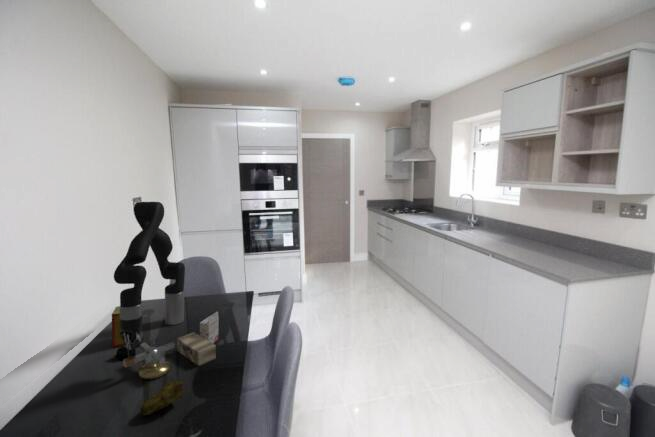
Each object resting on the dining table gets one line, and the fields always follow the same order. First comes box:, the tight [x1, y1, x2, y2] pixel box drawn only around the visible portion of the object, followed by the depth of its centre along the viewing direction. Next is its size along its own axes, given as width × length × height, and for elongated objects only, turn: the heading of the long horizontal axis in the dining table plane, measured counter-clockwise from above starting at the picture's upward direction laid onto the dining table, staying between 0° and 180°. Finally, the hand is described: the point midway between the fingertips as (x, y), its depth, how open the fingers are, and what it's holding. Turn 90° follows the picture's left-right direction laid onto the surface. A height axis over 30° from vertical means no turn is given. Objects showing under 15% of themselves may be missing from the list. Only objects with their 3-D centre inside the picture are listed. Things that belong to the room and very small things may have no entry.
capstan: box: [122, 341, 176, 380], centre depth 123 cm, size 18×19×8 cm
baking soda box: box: [111, 305, 125, 348], centre depth 143 cm, size 10×6×16 cm
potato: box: [140, 380, 185, 416], centre depth 103 cm, size 8×13×8 cm, turn 115°
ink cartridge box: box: [199, 310, 219, 344], centre depth 146 cm, size 9×5×15 cm, turn 168°
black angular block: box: [109, 346, 128, 362], centre depth 131 cm, size 12×7×5 cm, turn 82°
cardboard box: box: [176, 331, 217, 367], centre depth 135 cm, size 18×9×6 cm, turn 53°
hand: (131, 356), depth 120 cm, fingers closed
